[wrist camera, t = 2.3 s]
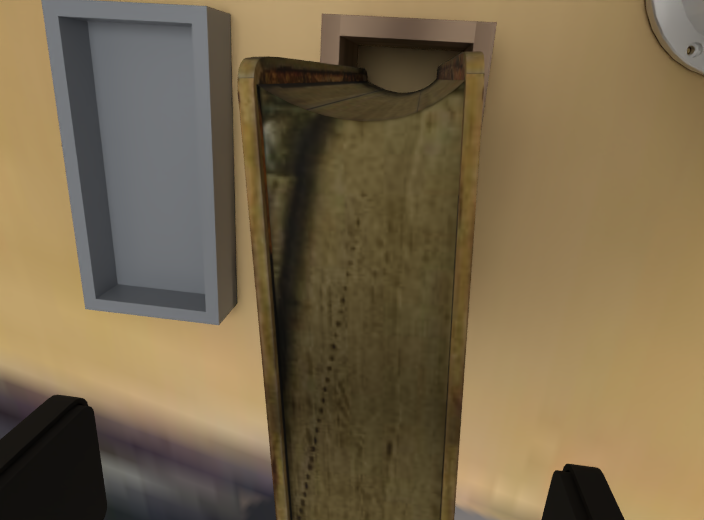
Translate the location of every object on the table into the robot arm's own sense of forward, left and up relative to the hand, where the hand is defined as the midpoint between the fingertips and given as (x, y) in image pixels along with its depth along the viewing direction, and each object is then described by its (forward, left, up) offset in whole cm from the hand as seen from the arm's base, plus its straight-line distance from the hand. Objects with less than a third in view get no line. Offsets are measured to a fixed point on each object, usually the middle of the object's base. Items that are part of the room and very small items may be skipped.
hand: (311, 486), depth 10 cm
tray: (+18, 0, -29) cm, 34 cm away
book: (-1, 0, -29) cm, 29 cm away
